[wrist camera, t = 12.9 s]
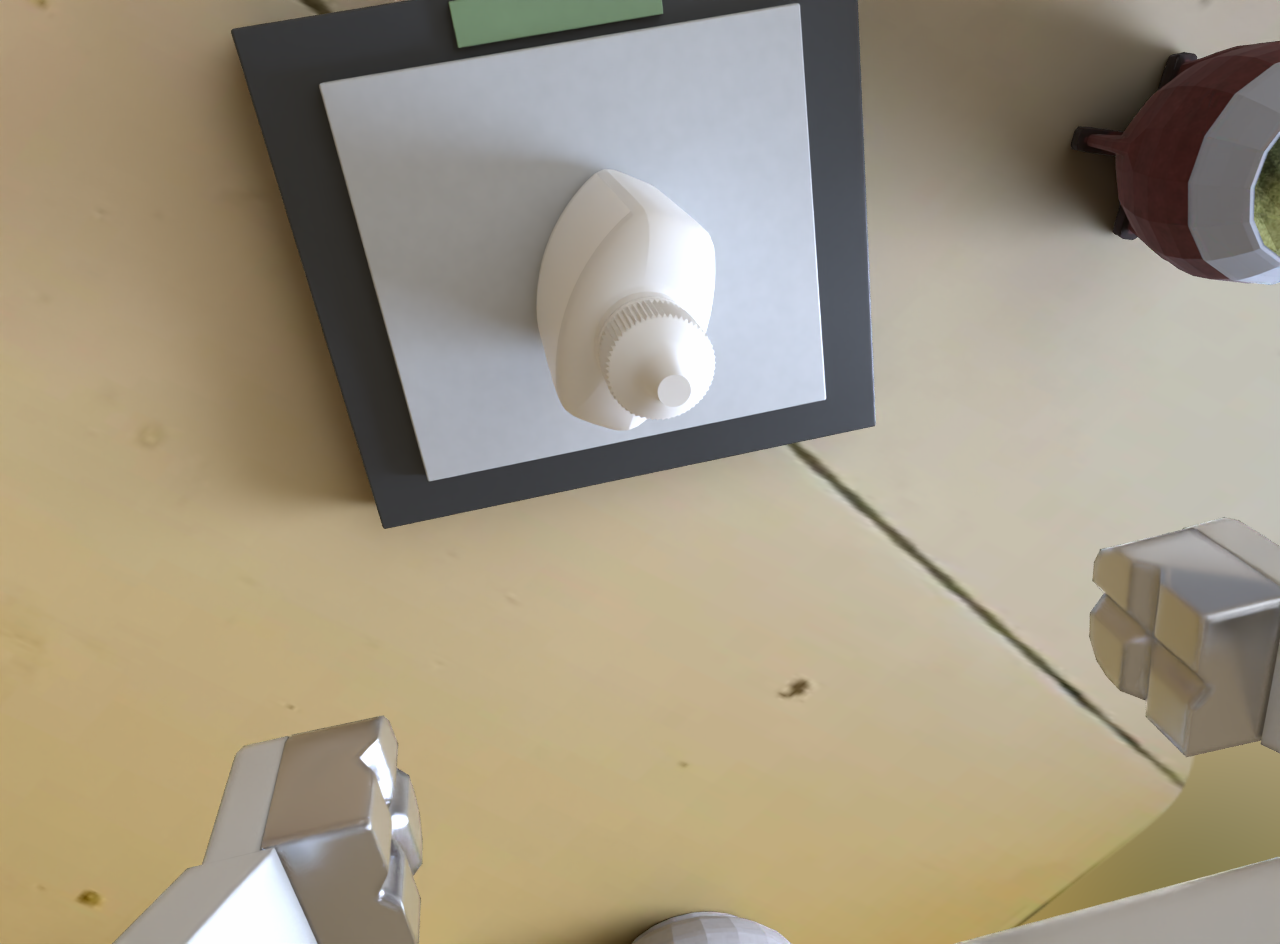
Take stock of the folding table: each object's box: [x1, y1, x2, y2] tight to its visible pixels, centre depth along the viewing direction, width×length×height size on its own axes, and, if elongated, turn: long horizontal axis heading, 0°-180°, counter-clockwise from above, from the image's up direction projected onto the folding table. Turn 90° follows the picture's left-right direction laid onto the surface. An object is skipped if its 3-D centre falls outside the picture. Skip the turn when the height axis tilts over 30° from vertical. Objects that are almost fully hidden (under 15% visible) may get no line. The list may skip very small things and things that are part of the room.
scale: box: [231, 0, 876, 529], centre depth 31 cm, size 16×18×3 cm
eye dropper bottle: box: [536, 169, 716, 431], centre depth 25 cm, size 4×6×12 cm
